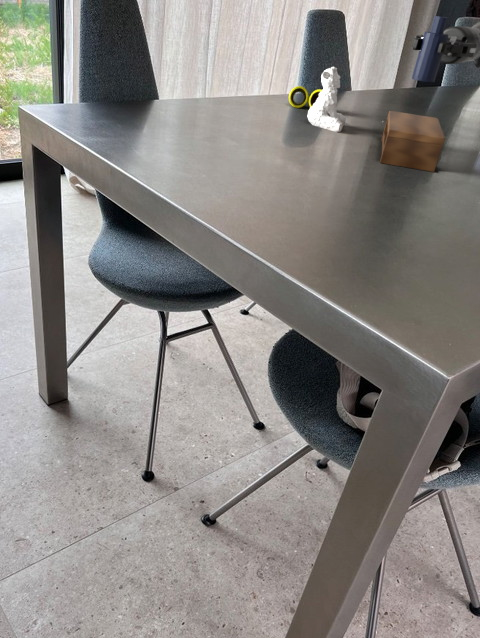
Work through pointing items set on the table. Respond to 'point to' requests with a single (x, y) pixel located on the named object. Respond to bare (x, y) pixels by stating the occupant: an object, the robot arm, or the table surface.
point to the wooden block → (412, 141)
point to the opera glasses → (310, 99)
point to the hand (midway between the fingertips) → (427, 46)
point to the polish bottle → (430, 51)
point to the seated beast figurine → (327, 103)
